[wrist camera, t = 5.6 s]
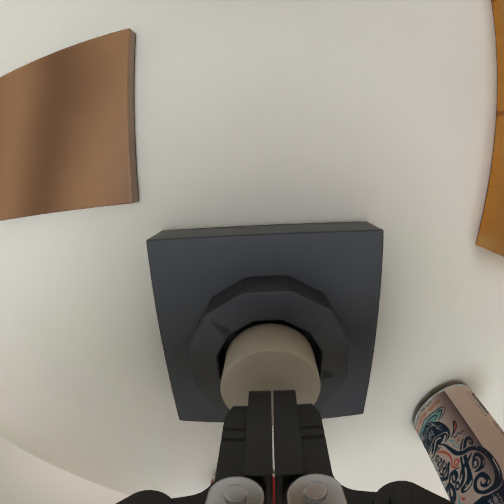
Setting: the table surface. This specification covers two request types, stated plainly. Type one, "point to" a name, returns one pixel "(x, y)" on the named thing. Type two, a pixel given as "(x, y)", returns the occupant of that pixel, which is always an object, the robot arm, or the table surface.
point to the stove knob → (269, 365)
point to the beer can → (463, 445)
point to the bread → (496, 155)
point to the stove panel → (267, 304)
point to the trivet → (69, 129)
